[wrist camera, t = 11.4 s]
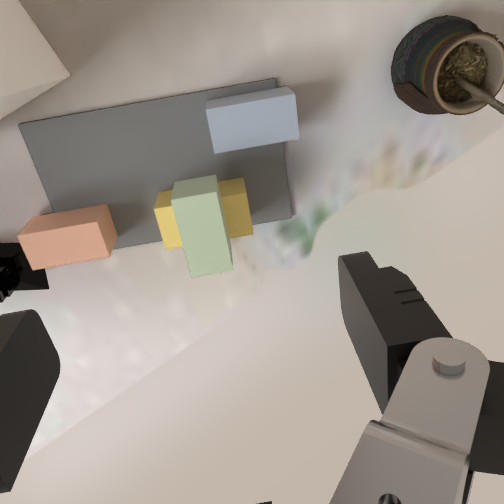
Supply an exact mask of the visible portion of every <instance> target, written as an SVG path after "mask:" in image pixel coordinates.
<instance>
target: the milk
mask: <svg viewBox="0 0 504 504" xmlns="http://www.w3.org/2000/svg"><path fill="white" fill-rule="evenodd" d="M69 76H71V75H70V74H69V72H68V71H67V70H66V68H65V67H64V65H63V64H62V62H61V61H60V60H59V58H58V57H57V55H56V54H55V52H54V51H53V49H52V48H51V47H50V45H49V44H48V42H47V41H46V39H45V38H44V37H43V35H42V34H41V32H40V31H39V29H38V28H37V26H36V25H35V24H34V22H33V21H32V19H31V18H30V16H29V15H28V13H27V12H26V11H25V9H24V8H23V6H22V5H21V3H20V2H19V1H18V0H0V119H2V118H3V117H5V116H7V115H8V114H10V113H11V112H13V111H15V110H16V109H18V108H19V107H21V106H23V105H24V104H26V103H27V102H29V101H31V100H32V99H34V98H35V97H37V96H39V95H40V94H42V93H43V92H45V91H47V90H48V89H50V88H51V87H53V86H55V85H56V84H58V83H59V82H61V81H63V80H64V79H66V78H67V77H69Z"/></svg>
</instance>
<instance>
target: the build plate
mask: <svg viewBox="0 0 504 504" xmlns="http://www.w3.org/2000/svg"><path fill="white" fill-rule="evenodd" d="M41 289H49V285H48V281H47V276H46V272H45V268H43V269H38V270H32V268H31V266H30V263H29V261H28V259H27V257H26V255H25V253H24V251H23V249H22V246H21V244H20V243H0V303H2V302H3V301H4V300H5V298H6V297H10V296H11V294H12V293H13V291H16V290H41Z"/></svg>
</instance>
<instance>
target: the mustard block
mask: <svg viewBox="0 0 504 504" xmlns="http://www.w3.org/2000/svg"><path fill="white" fill-rule="evenodd" d="M218 186H219V191H220V196H221V200H222V205H223V210H224V215H225V219H226V224H227V229H228V234H229V238H235V237H241V236H247V235H252V234H254V233H253V228H252V222H251V216H250V210H249V205H248V199H247V193H246V188H245V182H244V177H242V178H236V179H231V180H225V181H219V182H218ZM172 191H173V190H169V191H163V192H159V193H158V197H157V200H156V203H155V207H154V212H155V215H156V219H157V222H158V225H159V229H160V232H161V236H162V239H163V243H164V246H165V250H167V249H173V248H178V247H183V245H182V241H181V237H180V234H179V230H178V226H177V223H176V219H175V215H174V211H173V208H172V204H171V195H172Z"/></svg>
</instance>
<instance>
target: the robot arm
mask: <svg viewBox="0 0 504 504" xmlns="http://www.w3.org/2000/svg"><path fill="white" fill-rule="evenodd" d="M338 271H339V284H340V298H341V309H342V314H343V319H344V323H345V326H346V329H347V331H348V334H349V336H350V338H351V341H352V343H353V346H354V348H355V350H356V353H357V355H358V357H359V360H360V362H361V365H362V367H363V369H364V372H365V374H366V377H367V379H368V381H369V384H370V386H371V389H372V391H373V393H374V396H375V398H376V400H377V403H378V405H379V408H380V410H381V413H382V415H383V416H382V418H381V420H380V421H379V422H378V421H376V420H371V421H370V422H369V423H368V424H367V426H366V428H365V430H364V431H363V434H362V436H361V438H360V440H359V442H358V444H357V446H356V448H355V450H354V453H353V455H352V457H351V459H350V461H349V463H348V466H347V468H346V470H345V472H344V474H343V476H342V478H341V480H340V482H339V484H338V486H337V489H336V491H335V493H334V495H333V497H332V499H331V501H330V503H329V504H468V501H469V496H470V492H471V487H472V483H473V478H474V474H475V471H477V472H484V473H491V474H498V475H504V363H501V362H494V361H489V360H487V358H486V357H485V355H484V354H483V353H482V352H481V351H480V350H479V349H477V348H476V347H474V346H473V345H471V344H469V343H467V342H464V341H461V340H458V339H453V337H452V336H451V335H450V333H449V332H448V331H447V329H446V328H445V326H444V325H443V324H442V322H441V321H440V320H439V319H438V317H437V315H436V314H435V313H434V311H433V310H432V309H431V307H430V306H429V305H428V303H427V302H426V301H424V298H423V296H422V295H421V294H420V292H419V291H417V289H416V287H415V285H414V284H413V283H412V281H411V280H410V279H409V277H408V276H407V275H406V274H404V273H402V272H400V271H399V270H397V269H395V268H394V267H392V266H390V267H385V268H378V266H377V265H376V263H375V262H374V260H373V258H372V257H371V255H370V254H369V252H367V251H365V252H360V253H354V254H348V255H343V256H339V257H338ZM59 374H60V360H59V356H58V353H57V351H56V349H55V347H54V345H53V342H52V340H51V338H50V336H49V334H48V332H47V330H46V328H45V326H44V324H43V322H42V320H41V318H40V316H39V314H38V313H37V312H36V311H35V310H32V309H30V310H24V311H19V312H13V313H7V314H2V315H1V316H0V493H5V492H10V491H11V489H12V487H13V484H14V482H15V480H16V477H17V475H18V472H19V470H20V467H21V465H22V463H23V461H24V458H25V456H26V454H27V451H28V449H29V446H30V444H31V442H32V439H33V437H34V435H35V432H36V430H37V427H38V425H39V423H40V420H41V418H42V416H43V413H44V411H45V408H46V406H47V404H48V401H49V399H50V397H51V394H52V392H53V389H54V387H55V385H56V382H57V380H58V377H59ZM259 504H272V501H270V502H264V503H259Z"/></svg>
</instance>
